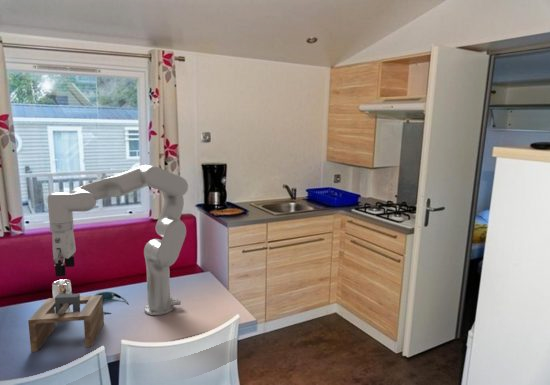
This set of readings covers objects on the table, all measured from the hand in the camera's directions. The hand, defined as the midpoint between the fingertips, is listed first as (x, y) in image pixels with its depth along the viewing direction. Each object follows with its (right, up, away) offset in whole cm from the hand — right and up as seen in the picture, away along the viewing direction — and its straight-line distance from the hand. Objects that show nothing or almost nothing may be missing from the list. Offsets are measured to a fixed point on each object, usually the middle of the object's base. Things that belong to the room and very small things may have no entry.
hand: (65, 271), depth 142 cm
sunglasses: (+3, -22, +30) cm, 37 cm away
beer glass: (-12, -23, +20) cm, 33 cm away
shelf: (0, -26, +4) cm, 26 cm away
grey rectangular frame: (-1, -19, +3) cm, 19 cm away
